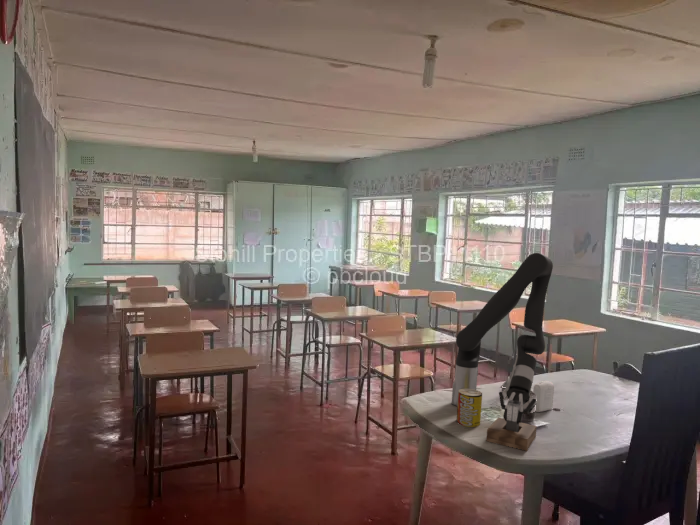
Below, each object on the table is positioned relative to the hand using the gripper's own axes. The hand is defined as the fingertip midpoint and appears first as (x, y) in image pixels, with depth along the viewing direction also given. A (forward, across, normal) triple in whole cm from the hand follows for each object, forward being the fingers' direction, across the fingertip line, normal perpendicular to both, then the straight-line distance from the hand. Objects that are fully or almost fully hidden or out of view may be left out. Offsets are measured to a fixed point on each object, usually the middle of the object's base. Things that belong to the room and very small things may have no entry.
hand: (511, 421), depth 188 cm
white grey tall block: (+2, 0, +4) cm, 5 cm away
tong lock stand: (+4, 0, +6) cm, 7 cm away
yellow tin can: (0, -18, +11) cm, 21 cm away
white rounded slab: (-25, +3, +36) cm, 44 cm away
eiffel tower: (-38, -12, +49) cm, 63 cm away
